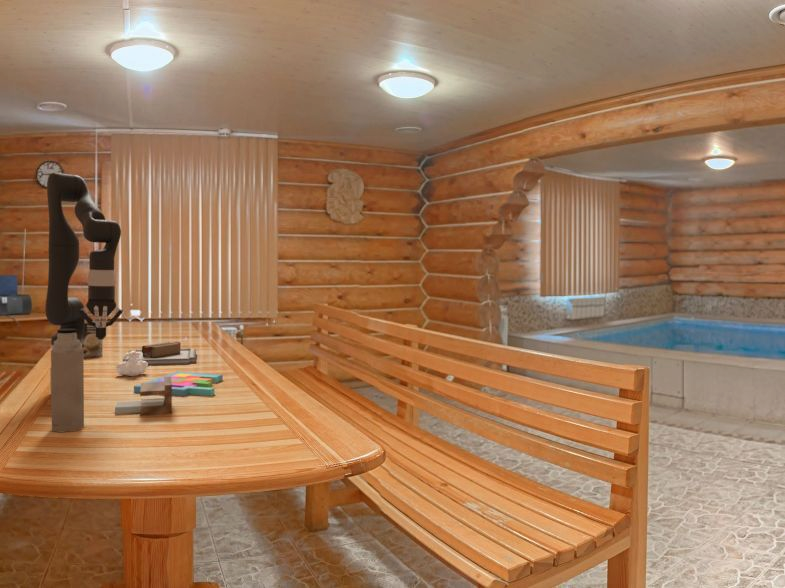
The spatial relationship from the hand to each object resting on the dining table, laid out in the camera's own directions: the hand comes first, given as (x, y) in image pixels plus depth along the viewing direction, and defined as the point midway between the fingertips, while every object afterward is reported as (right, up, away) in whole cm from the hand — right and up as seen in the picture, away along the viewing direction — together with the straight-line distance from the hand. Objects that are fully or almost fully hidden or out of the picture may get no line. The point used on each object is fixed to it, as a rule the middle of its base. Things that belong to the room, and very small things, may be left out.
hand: (101, 339), depth 190 cm
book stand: (-15, -17, +90) cm, 93 cm away
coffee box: (-50, -15, +94) cm, 107 cm away
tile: (+12, -23, +1) cm, 26 cm away
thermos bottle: (+1, -24, -20) cm, 31 cm away
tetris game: (+17, -21, +35) cm, 44 cm away
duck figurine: (-13, -19, +53) cm, 57 cm away
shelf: (+16, -22, +1) cm, 27 cm away
